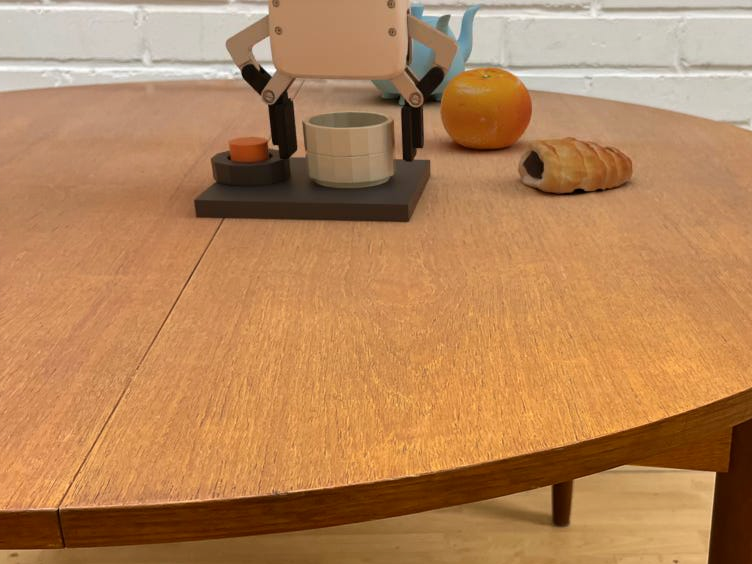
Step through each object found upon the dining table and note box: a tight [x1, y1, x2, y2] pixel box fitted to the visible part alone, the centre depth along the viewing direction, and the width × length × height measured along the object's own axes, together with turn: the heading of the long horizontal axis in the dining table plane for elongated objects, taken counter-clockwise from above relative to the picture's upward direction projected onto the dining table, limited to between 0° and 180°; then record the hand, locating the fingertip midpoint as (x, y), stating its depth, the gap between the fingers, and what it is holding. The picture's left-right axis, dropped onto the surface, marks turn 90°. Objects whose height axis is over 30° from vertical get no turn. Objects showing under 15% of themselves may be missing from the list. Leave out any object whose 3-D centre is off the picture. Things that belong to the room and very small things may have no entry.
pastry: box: [517, 136, 634, 195], centre depth 80 cm, size 9×7×4 cm
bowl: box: [301, 110, 397, 188], centre depth 76 cm, size 7×7×4 cm
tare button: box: [228, 136, 270, 162], centre depth 76 cm, size 3×3×2 cm
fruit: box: [440, 67, 533, 151], centre depth 91 cm, size 8×9×8 cm
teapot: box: [370, 3, 483, 106], centre depth 112 cm, size 13×13×10 cm
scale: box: [193, 148, 431, 223], centre depth 77 cm, size 16×14×3 cm
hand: (349, 156), depth 76 cm, fingers open, 9 cm apart
